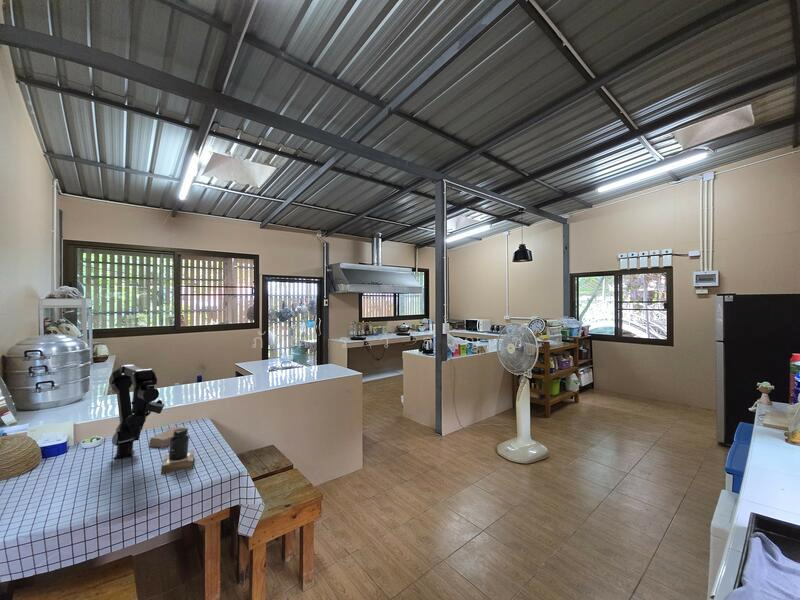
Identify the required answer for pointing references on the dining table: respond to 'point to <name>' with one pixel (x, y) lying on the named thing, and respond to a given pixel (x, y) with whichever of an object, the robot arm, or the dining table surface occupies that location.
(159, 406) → the robot arm
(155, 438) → the brick
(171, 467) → the plate
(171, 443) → the supplement bottle
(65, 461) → the dining table surface
